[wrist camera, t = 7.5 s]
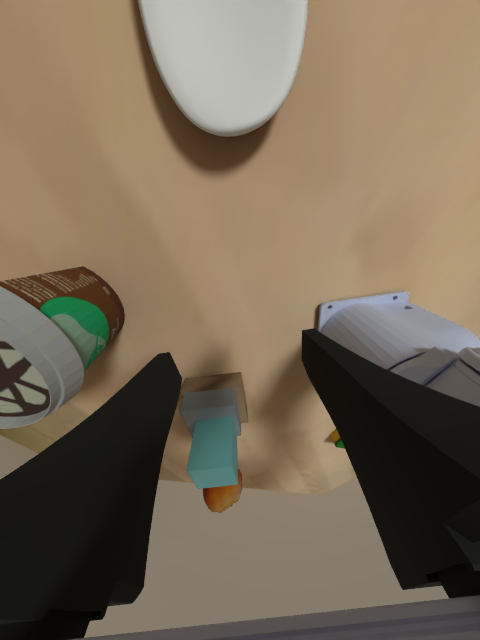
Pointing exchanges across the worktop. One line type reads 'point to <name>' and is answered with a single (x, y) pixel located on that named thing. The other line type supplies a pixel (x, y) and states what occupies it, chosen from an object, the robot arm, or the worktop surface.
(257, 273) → the worktop surface
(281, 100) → the spoon
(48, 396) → the food container
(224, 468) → the teal block
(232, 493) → the fruit
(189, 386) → the walnut slab
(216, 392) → the gray block
